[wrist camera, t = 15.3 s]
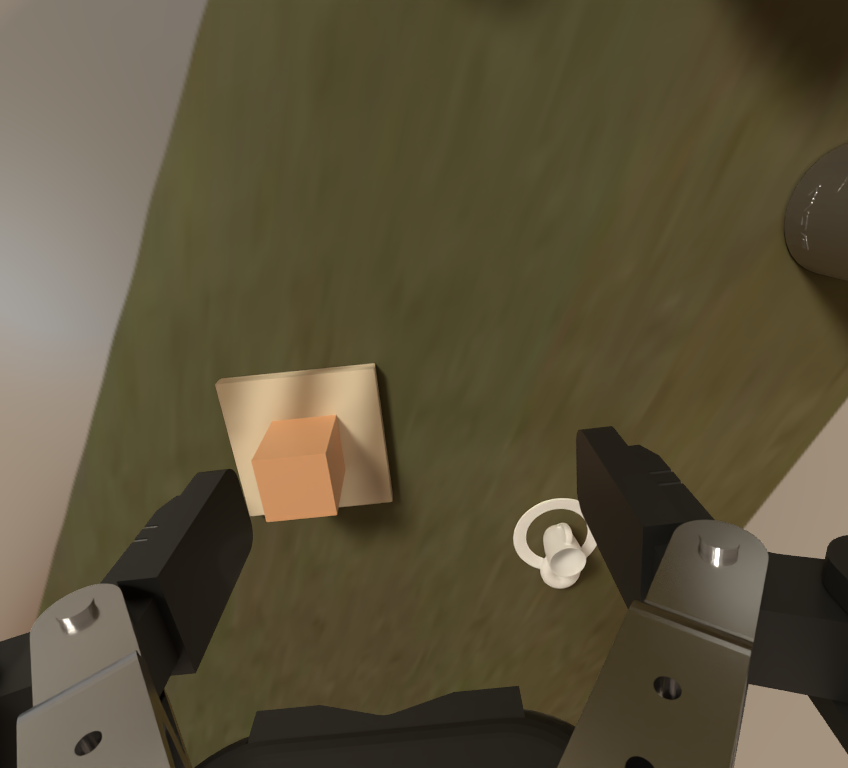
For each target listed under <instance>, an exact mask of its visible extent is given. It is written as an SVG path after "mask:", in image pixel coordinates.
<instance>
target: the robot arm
mask: <svg viewBox="0 0 848 768" xmlns="http://www.w3.org/2000/svg"><path fill="white" fill-rule="evenodd" d="M784 233H785V239H786V244H787V246H788V249H789V251H790V254H791V255H792V256H793V258H794V259H795V260H796V262H797V263H798V264H800V265H801V266H802V267H804V268H805V269H807V270H809V271H812V272H814V273H817V274H821V275H825V276H829V277H833V278H838V279H842V280H846V281H848V143H847V144H844V145H842V146H840V147H838V148H836V149H834V150H832V151H830V152H829V153H827V154H826V155H825V156H823V157H822V158H821V159H819V160H818V161H817V162H816V163H815V164H814V165H813V166H812V167H811V168H810V169H809V170H808V171H807V172H806V173H805V175H804V176H803V177H802V179H801V180H800V182H799V183H798V185H797V186H796V188H795V190H794V192H793V194H792V196H791V199H790V201H789V204H788V207H787V211H786V215H785V225H784ZM576 455H577V494H578V501H579V505H580V509H581V512H582V515H583V517H584V519H585V521H586V523H587V525H588V527H589V530H590V532H591V534H592V536H593V538H594V540H595V542H596V544H597V546H598V548H599V550H600V552H601V554H602V556H603V558H604V560H605V562H606V564H607V567H608V569H609V571H610V573H611V575H612V577H613V579H614V581H615V583H616V585H617V587H618V589H619V591H620V593H621V595H622V597H623V599H624V602H625V604H626V606H627V608H628V611H627V614H626V616H625V618H624V620H623V623H622V625H621V627H620V629H619V631H618V634H617V636H616V638H615V640H614V643H613V645H612V647H611V649H610V651H609V654H608V656H607V658H606V660H605V663H604V665H603V667H602V669H601V671H600V674H599V676H598V678H597V680H596V683H595V685H594V687H593V689H592V691H591V694H590V696H589V698H588V700H587V703H586V705H585V707H584V709H583V711H582V714H581V716H580V718H579V720H578V723H577V725H576V727H575V726H573V725H571V724H570V723H568V722H565V721H563V720H561V719H558V718H556V717H554V716H551V715H548V714H544V713H541V712H537V711H533V710H527V709H523V705H522V700H521V695H520V690H519V686H513V687H503V688H493V689H482V690H472V691H462V692H453V693H450V694H447V695H444V696H442V697H439V698H436V699H433V700H430V701H427V702H425V703H422V704H419V705H416V706H413V707H410V708H408V709H405V710H402V711H399V712H396V713H393V714H390V715H375V714H369V713H363V712H357V711H351V710H346V709H340V708H334V707H328V706H322V705H317V706H307V707H296V708H286V709H276V710H265V711H257V712H256V716H255V719H254V722H253V726H252V729H251V732H250V736H249V737H246V738H244V739H241V740H239V741H237V742H235V743H233V744H231V745H229V746H227V747H225V748H223V749H222V750H220V751H218V752H216V753H215V754H213V755H211V756H210V757H208V758H207V759H206V760H204V761H203V762H201V763H200V764H199V765H197V766H196V767H195V768H734V762H735V757H736V751H737V746H738V740H739V735H740V729H741V723H742V717H743V712H744V707H745V701H746V695H747V690H748V684H752V685H758V686H763V687H768V688H773V689H778V690H784V691H789V692H794V693H799V694H805V695H808V696H809V698H810V699H811V701H812V702H813V704H814V705H815V707H816V708H817V710H818V711H819V712H820V714H821V715H822V717H823V718H824V720H825V721H826V723H827V724H828V726H829V727H830V729H831V730H832V732H833V733H834V735H835V736H836V737H837V739H838V740H839V742H840V743H841V745H842V746H843V748H844V749H845V751H846V752H847V754H848V535H846V536H841V537H838V538H836V539H834V540H832V541H831V542H830V544H829V545H828V547H827V552H826V557H825V559H817V558H808V557H799V556H791V555H782V554H776V553H771V552H767V549H766V548H765V546H764V544H763V543H762V542H761V541H760V540H759V539H757V537H755V536H754V535H753V534H751V533H750V532H748V531H746V530H744V529H742V528H740V527H738V526H735V525H733V524H729V523H726V522H721V521H715V520H714V519H713V518H712V516H711V515H710V514H709V513H708V512H707V511H706V510H705V508H704V507H703V506H702V505H701V504H700V503H699V501H698V500H697V499H696V498H695V497H694V496H693V494H692V493H691V492H690V491H689V490H688V489H687V488H686V486H685V485H684V484H681V481H680V479H679V478H678V477H677V476H676V475H675V474H674V472H671V469H670V468H669V467H668V465H667V464H666V463H665V462H664V461H663V460H662V459H661V457H660V456H659V455H657V454H655V453H653V452H652V451H650V450H648V449H646V448H644V447H642V446H641V445H633V446H628V445H627V444H626V443H625V442H624V440H623V439H622V438H621V436H620V435H619V434H618V433H617V431H616V430H615V429H614V428H613V427H612V426H609V427H600V428H592V429H583V430H578V432H577V437H576ZM252 540H253V531H252V524H251V520H250V517H249V514H248V510H247V507H246V504H245V500H244V497H243V494H242V490H241V487H240V484H239V480H238V477H237V475H236V473H235V472H234V471H233V470H232V469H225V470H216V471H207V472H199V473H197V474H196V475H195V476H194V478H193V479H192V480H191V482H190V483H189V484H188V486H187V487H186V488H185V490H184V491H183V492H182V494H181V495H180V496H176V497H174V498H173V499H172V500H170V501H169V502H168V503H166V504H165V505H164V506H162V507H161V508H160V509H158V510H157V511H156V512H155V514H154V515H153V516H152V518H151V519H150V520H149V521H148V523H147V524H146V525H145V529H142V530H141V532H140V533H139V534H138V535H137V537H136V538H135V542H133V543H131V544H130V546H129V547H128V548H127V550H126V551H125V552H124V553H123V555H122V556H121V557H120V559H119V560H118V561H117V562H116V564H115V565H114V566H113V568H112V569H111V570H110V571H109V573H108V574H107V575H106V577H105V578H104V579H103V580H102V582H101V583H100V584H96V585H92V586H88V587H85V588H82V589H79V590H77V591H75V592H73V593H71V594H69V595H67V596H65V597H63V598H62V599H60V600H58V601H57V602H56V603H54V604H53V605H51V606H50V607H49V608H48V609H47V610H46V611H44V612H43V613H42V614H41V615H40V617H39V618H38V619H37V620H36V622H35V623H34V625H33V626H32V629H31V631H30V632H29V633H26V634H23V635H20V636H17V637H13V638H10V639H7V640H4V641H1V642H0V768H192V765H191V762H190V759H189V756H188V753H187V751H186V748H185V745H184V742H183V739H182V736H181V733H180V730H179V727H178V724H177V721H176V718H175V715H174V712H173V709H172V706H171V703H170V700H169V698H168V695H167V693H166V691H165V689H164V688H165V686H166V683H167V681H168V679H169V677H170V676H172V675H182V674H192V673H196V671H197V669H198V667H199V664H200V662H201V660H202V658H203V656H204V653H205V651H206V649H207V647H208V644H209V642H210V640H211V638H212V635H213V633H214V631H215V629H216V626H217V624H218V622H219V620H220V617H221V615H222V613H223V611H224V609H225V606H226V604H227V602H228V600H229V597H230V595H231V593H232V591H233V588H234V586H235V584H236V582H237V579H238V577H239V575H240V573H241V570H242V568H243V566H244V564H245V561H246V559H247V557H248V555H249V553H250V550H251V547H252Z"/></svg>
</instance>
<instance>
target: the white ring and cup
mask: <svg viewBox="0 0 848 768" xmlns="http://www.w3.org/2000/svg"><path fill="white" fill-rule="evenodd" d="M553 509H569V510H572V511H575V512H577V513H578V514H580V515H581V516H582V517H583V515H582V512H581V509H580V505H579V501H578V500H574V499H569V498H556V499H551V500H547V501H544V502H541V503H539V504H537V505H535V506H534V507H532V508H531V509H529V510H528V511H527V512H526V513H525V514H524V515H523V516H522V517H521V518H520V520H519V521H518V523H517V525H516V527H515V531H514V536H513V541H514V547H515V549H516V552H517V553H518V555H519V556H520V557H521V559H522V560H523V561H525V562H526V563H527V564H529V565H531V566H533V567H535V568H539V569H540V573H541V577H542V579H543V580H544V582H545V583H546V584H548V585H549V586H551V587H553V588H559V589H562V588H567V587H569V586H571V585H573V584H574V583H575V582H576V581H577V579H578V578H579V575H580V572H581V570H582V569H583V568H584V566H585V564H586V558H587V557H588V556H589V555H590V554H591V553H592V551H593V550H594V549H595V547H596V546H597V544H596V542H595V540H594V538H593V536H592V534H591V532H590V530H589V527H588V525H587V527H588V535H587V538H586V541H585V543H584V544H583V546H582V547H580V545H579V543H578V542H577V540H576V539H575V537H574V536H573V535H572V531H571V528H570V527H569V525H568V524H566V523H559V524H557V525H553V526H551V527H549V528H548V529H547V530H546V531H545V533H544V537H543V544H544V549H545V553H546V557H545V558H541V557H539V556H537V555H535V554H534V553H533V552H532V551H531V550H530V549H529V547H528V545H527V542H526V532H527V529H528V527H529V525H530V524H531V522H532V521H533V520H534V519H535V518H536V517H537V516H539V515H540V514H542V513H544V512H546V511H549V510H553ZM583 518H584V517H583ZM584 520H585V519H584ZM586 524H587V523H586Z"/></svg>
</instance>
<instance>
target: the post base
mask: <svg viewBox="0 0 848 768" xmlns="http://www.w3.org/2000/svg"><path fill="white" fill-rule="evenodd" d="M215 386H216V389H217V393H218V397H219V401H220V404H221V408H222V412H223V416H224V420H225V423H226V427H227V431H228V435H229V438H230V442H231V446H232V450H233V453H234V457H235V461H236V465H237V468H238V472H239V476H240V480H241V484H242V487H243V491H244V495H245V499H246V502H247V506H248V510H249V514H250V516H257V515H265V514H264V510H263V506H262V502H261V498H260V494H259V490H258V486H257V482H256V478H255V474H254V470H253V466H252V462H251V460H252V458H253V456H254V455H255V453H256V451H257V449H258V447H259V445H260V443H261V441H262V439H263V437H264V436H265V434H266V432H267V430H268V428H269V426H270V424H271V422H272V421H279V420H289V419H299V418H309V417H319V416H329V415H336V417H337V423H338V429H339V434H340V440H341V446H342V452H343V458H344V463H345V469H346V471H345V476H344V481H343V487H342V492H341V497H340V502H339V507H346V506H356V505H366V504H376V503H386V502H392V500H393V492H392V485H391V478H390V470H389V463H388V456H387V448H386V441H385V434H384V426H383V419H382V411H381V404H380V397H379V389H378V382H377V375H376V367H375V363H372V364H362V365H352V366H342V367H332V368H322V369H312V370H302V371H292V372H282V373H272V374H262V375H252V376H242V377H232V378H222V379H220V380H219V381H218V382H217V383H216V384H215Z"/></svg>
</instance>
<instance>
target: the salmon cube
mask: <svg viewBox="0 0 848 768" xmlns="http://www.w3.org/2000/svg"><path fill="white" fill-rule="evenodd" d="M251 462H252V466H253V470H254V474H255V478H256V482H257V486H258V490H259V494H260V498H261V502H262V506H263V510H264V514H265V518H266V522H273V521H283V520H293V519H303V518H313V517H323V516H333V515H337V513H338V508H339V502H340V497H341V492H342V487H343V481H344V476H345V471H346V469H345V463H344V458H343V452H342V446H341V440H340V434H339V429H338V423H337V417H336V415H329V416H319V417H309V418H299V419H289V420H279V421H272V422H271V424H270V426H269V428H268V430H267V432H266V434H265V436H264V437H263V439H262V441H261V443H260V445H259V447H258V449H257V451H256V453H255V455H254V456H253V458H252V460H251Z"/></svg>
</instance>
